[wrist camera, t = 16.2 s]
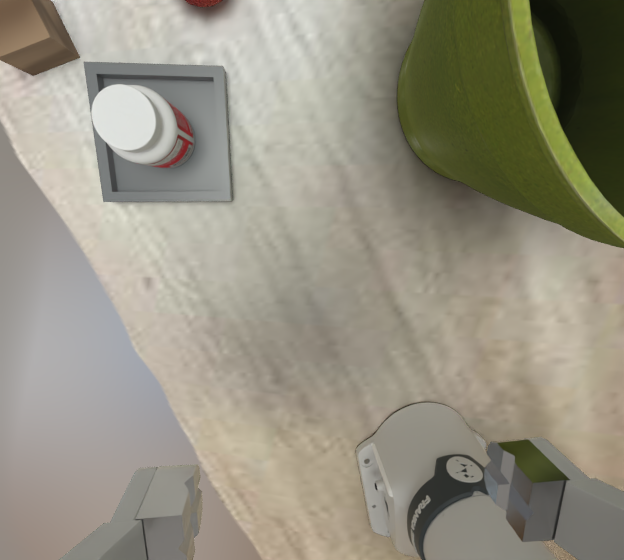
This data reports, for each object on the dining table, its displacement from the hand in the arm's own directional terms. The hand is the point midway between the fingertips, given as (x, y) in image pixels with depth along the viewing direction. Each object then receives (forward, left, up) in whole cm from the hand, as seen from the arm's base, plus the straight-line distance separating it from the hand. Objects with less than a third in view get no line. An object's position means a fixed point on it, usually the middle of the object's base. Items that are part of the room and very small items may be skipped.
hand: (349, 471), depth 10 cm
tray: (+13, +13, -34) cm, 39 cm away
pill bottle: (+13, +13, -34) cm, 38 cm away
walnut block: (+22, +24, -34) cm, 47 cm away
